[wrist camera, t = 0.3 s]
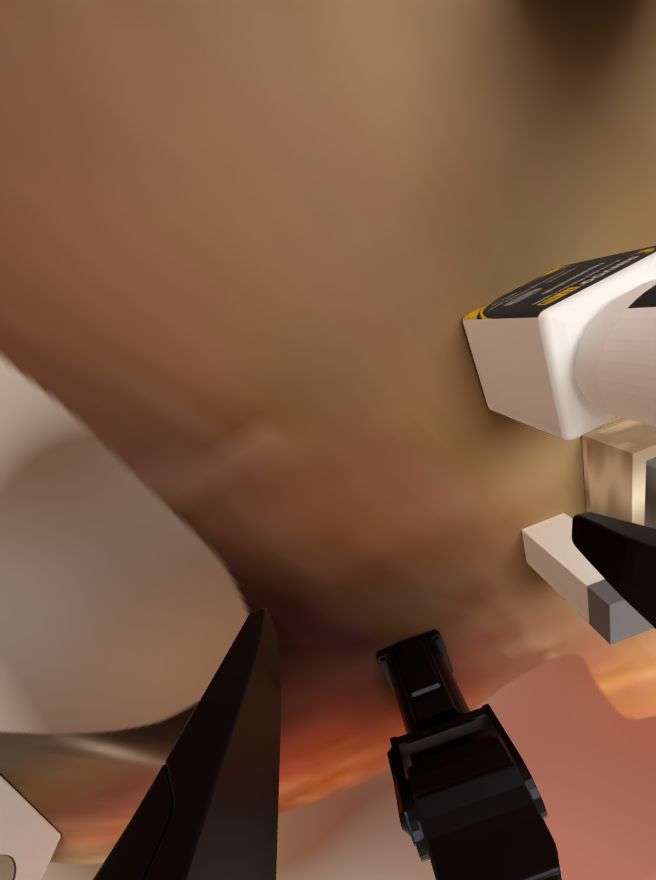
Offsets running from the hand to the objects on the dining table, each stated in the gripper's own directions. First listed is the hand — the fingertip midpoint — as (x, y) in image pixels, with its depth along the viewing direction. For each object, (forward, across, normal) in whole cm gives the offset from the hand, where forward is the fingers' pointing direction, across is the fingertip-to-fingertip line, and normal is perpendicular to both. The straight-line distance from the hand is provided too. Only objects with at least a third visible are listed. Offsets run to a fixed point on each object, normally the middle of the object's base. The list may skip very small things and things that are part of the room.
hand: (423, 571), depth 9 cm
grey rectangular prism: (+14, -16, +16) cm, 26 cm away
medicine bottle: (+14, -14, -2) cm, 20 cm away
